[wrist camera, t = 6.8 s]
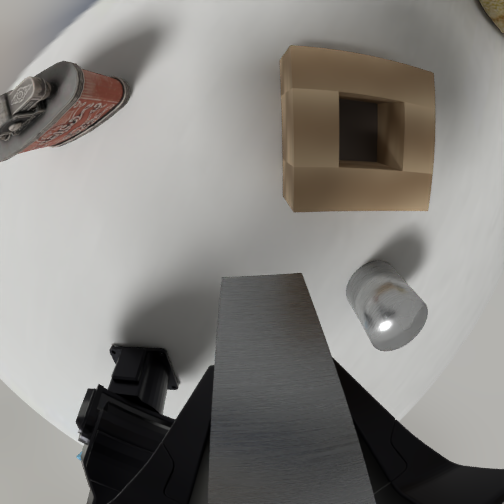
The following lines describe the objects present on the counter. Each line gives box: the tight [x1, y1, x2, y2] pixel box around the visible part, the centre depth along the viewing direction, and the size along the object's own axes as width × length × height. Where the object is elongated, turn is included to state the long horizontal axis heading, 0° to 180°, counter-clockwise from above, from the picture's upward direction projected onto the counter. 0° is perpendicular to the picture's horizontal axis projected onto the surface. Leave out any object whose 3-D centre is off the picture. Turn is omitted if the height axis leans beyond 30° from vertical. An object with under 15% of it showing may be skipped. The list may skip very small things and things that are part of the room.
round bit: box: [346, 261, 428, 351], centre depth 21 cm, size 5×5×6 cm
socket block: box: [280, 45, 435, 212], centre depth 16 cm, size 10×10×4 cm
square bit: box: [208, 273, 376, 504], centre depth 7 cm, size 3×3×10 cm
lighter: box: [0, 61, 130, 162], centre depth 12 cm, size 8×3×10 cm, turn 109°
